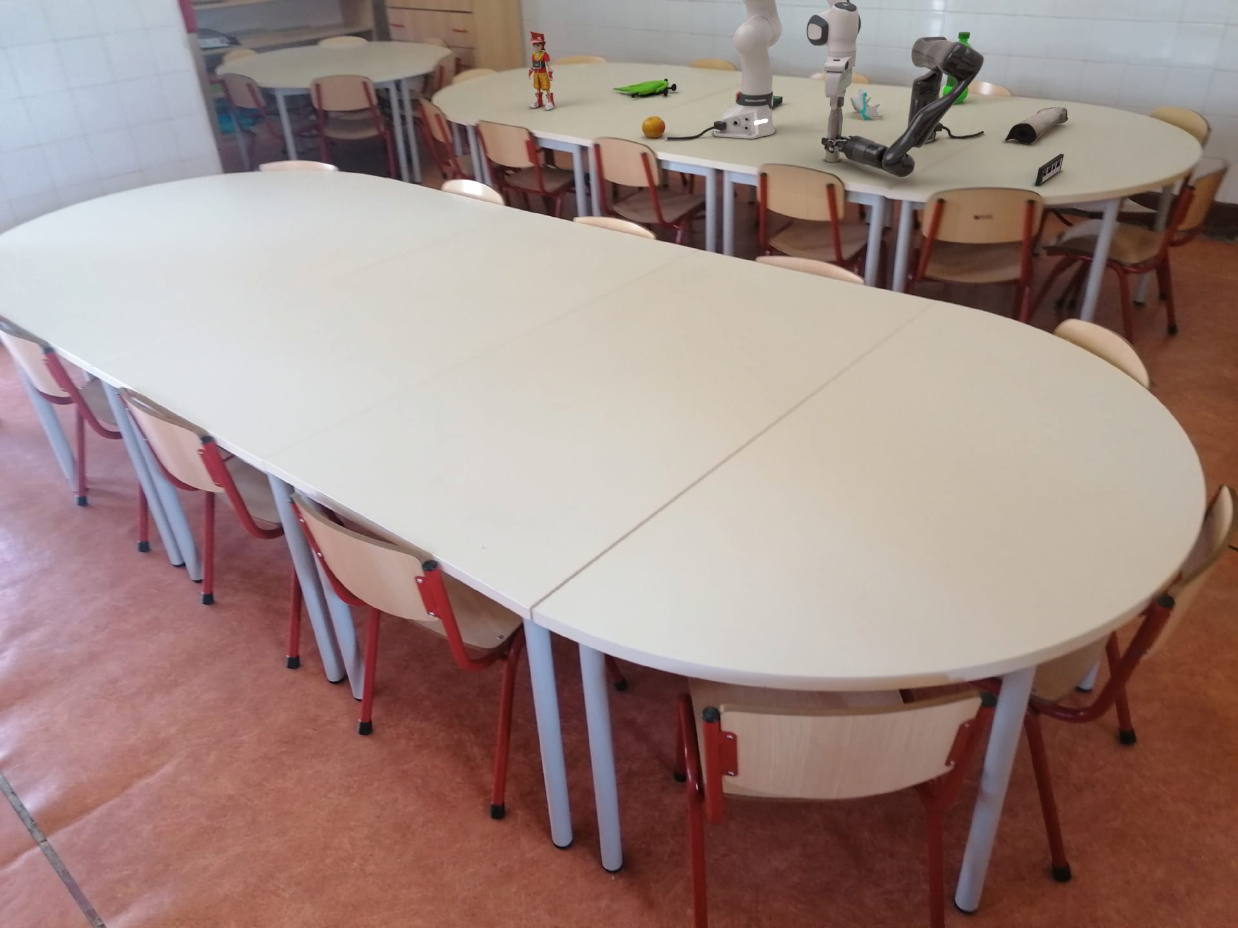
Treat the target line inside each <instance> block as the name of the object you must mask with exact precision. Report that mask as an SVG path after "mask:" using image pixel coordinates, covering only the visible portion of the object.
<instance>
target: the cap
mask: <svg viewBox="0 0 1238 928" xmlns="http://www.w3.org/2000/svg"><path fill="white" fill-rule="evenodd" d="M837 103H838V106H837V107H842V108H843V107H844V106H845V96H844V97H838V98H837ZM829 107H831V101H830V100H829Z"/></svg>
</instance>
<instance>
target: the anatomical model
mask: <svg viewBox="0 0 1238 928" xmlns="http://www.w3.org/2000/svg"><path fill="white" fill-rule="evenodd" d="M866 97H867V98H866ZM871 99H872V98H871V97H870V96H869V97H868V94H867V92H866V91H864V90H863V89H862V88H861V89H859V90H858V92H857V93H856V94H853V95H851V96H850V102H851V106H852V107H853V110H854V111H856V112H860V114H861V116H862V117H863V119H864V120H871V119H873V118H879V119H880V118H883V117H884V116H885V115H884V113H879V112H878V111H877V110H878V108H879V107H880V106H881V104H880V103H875V104H874V105H869V102H870V101H871Z"/></svg>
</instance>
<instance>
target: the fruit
mask: <svg viewBox="0 0 1238 928" xmlns="http://www.w3.org/2000/svg"><path fill="white" fill-rule="evenodd" d="M641 130H642V133H643V135H644V136H645V137H648V138H658V137H661V136H663V134H664V133H665V130H666V123H665V121H664V120H663V119H662V118H661V117H660V116H655V115H653V116H649V117H647V118H645V119H644V120H643V122H642V124H641Z"/></svg>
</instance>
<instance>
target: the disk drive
mask: <svg viewBox="0 0 1238 928" xmlns="http://www.w3.org/2000/svg"><path fill="white" fill-rule="evenodd" d="M783 99H784V97H783V96H778V95H773V106H772V109H774V108H777V106H779V105H782V103H783V102H784V101H783Z"/></svg>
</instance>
